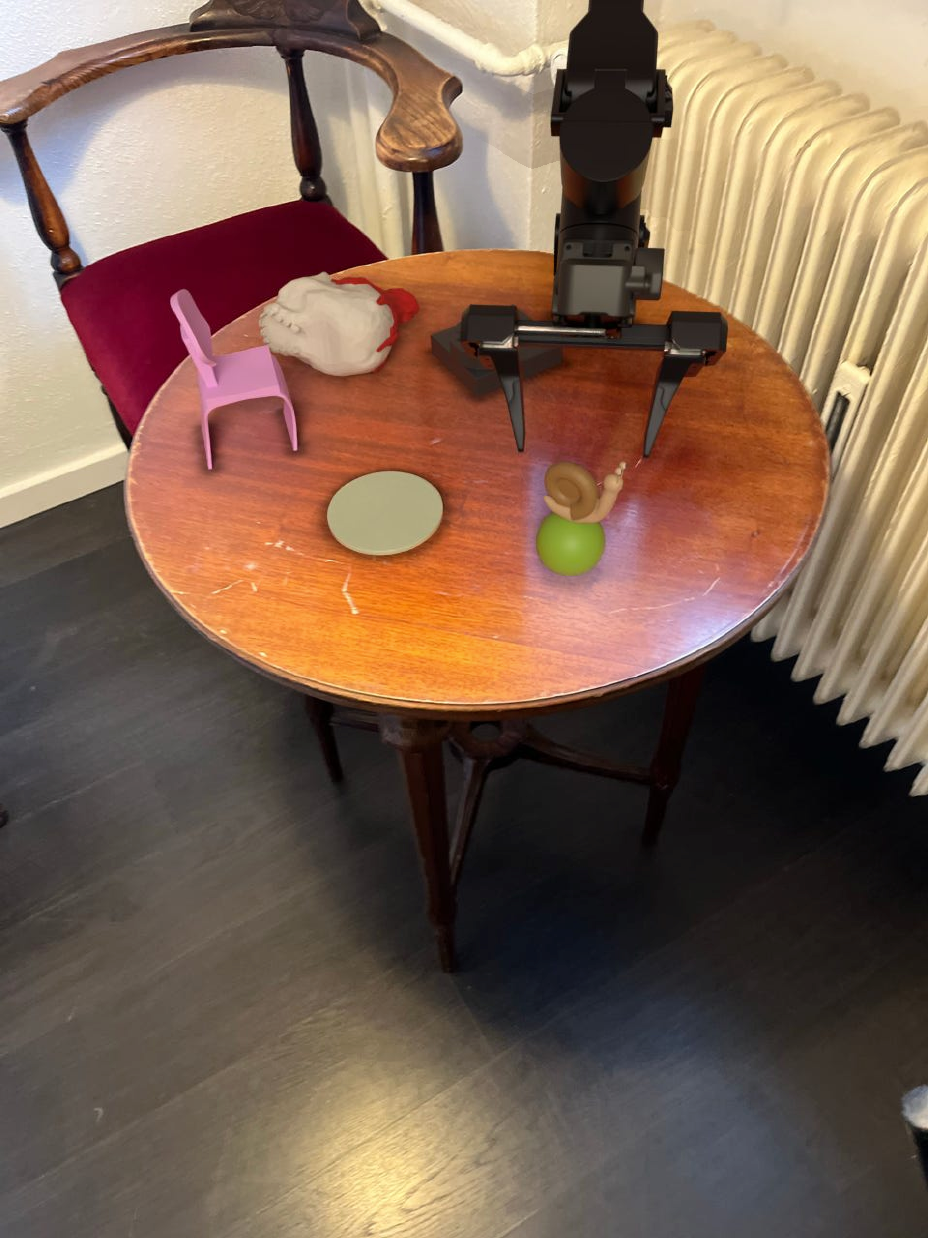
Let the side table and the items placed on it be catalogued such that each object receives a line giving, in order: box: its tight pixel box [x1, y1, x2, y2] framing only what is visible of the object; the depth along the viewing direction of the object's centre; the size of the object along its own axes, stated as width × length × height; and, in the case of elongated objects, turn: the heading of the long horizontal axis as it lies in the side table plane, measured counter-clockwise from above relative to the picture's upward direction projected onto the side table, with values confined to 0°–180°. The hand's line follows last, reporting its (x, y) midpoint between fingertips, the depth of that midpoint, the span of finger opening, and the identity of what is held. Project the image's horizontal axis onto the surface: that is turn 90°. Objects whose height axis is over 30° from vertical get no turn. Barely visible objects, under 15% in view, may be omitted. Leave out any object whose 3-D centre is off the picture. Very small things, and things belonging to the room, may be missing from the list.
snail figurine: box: [535, 461, 627, 577], centre depth 67 cm, size 5×6×12 cm
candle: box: [258, 271, 421, 377], centre depth 89 cm, size 9×11×15 cm
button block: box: [430, 303, 563, 398], centre depth 89 cm, size 10×9×4 cm
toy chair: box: [170, 288, 298, 470], centre depth 78 cm, size 8×9×15 cm
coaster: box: [326, 470, 444, 556], centre depth 77 cm, size 10×10×1 cm
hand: (582, 455), depth 66 cm, fingers open, 9 cm apart
